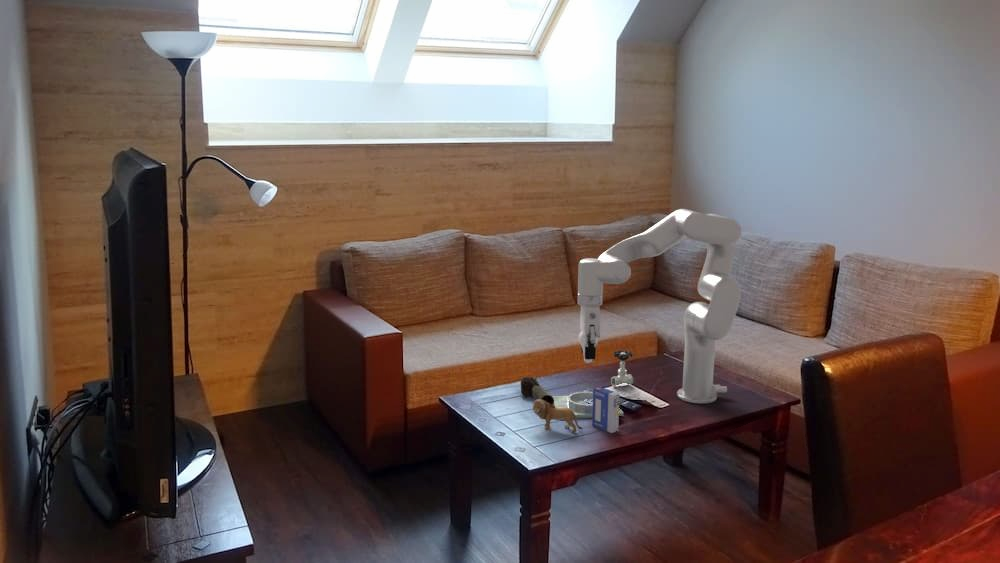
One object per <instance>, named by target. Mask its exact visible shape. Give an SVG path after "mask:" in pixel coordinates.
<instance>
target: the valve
mask: <svg viewBox="0 0 1000 563" xmlns="http://www.w3.org/2000/svg"><path fill="white" fill-rule="evenodd" d="M612 352H613V355H614V356H613V357H616V358H617V359H618V360H619V361H620V362H619V367H620V368H618V370H617V374H618V375H617V376H616V375H614V376H612V377H611V378H610V384H611V386H612V387H613V386H616V385H619V384H622V383H627V384H630V385H632V384H634V378H633V376H632V374H630V373H629V374H627V373H628V372H627V371H628V370H627V369H626V362H625V361H626V360H629V358H633V357H634V355H633V354H634V353H633V352H632V351H630V350H629V351H627V350H626V349H623V350H621V349H617V350H614V351H612Z"/></svg>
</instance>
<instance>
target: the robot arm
mask: <svg viewBox="0 0 1000 563" xmlns="http://www.w3.org/2000/svg"><path fill="white" fill-rule="evenodd" d="M741 235H742V227H741V225H740V224H739V222H738V221H737V220H735V219H733V218H731V217H727V216H724V215H721V214H716V213H706V214H705V213H702V212H697V211H694V210H692V209H691V210H690V209H687V208H679V209H676V210H674V211H673V212H671V213H669V214H668V215H667V216H665V217H664V218H662V219H661V220H659V221H658V222H657V223H655V224H654V225H652V226H651V227H649V228H648V229H647V230H645V231H644V232H641V233H638V234H635V235H633V236H631V237H628V238H626V239H623V240H621V241H620V242H617V243H616V244H614V245H613V246H611V247H609V248H608V249H607V250H606V251H604V252H602V254H600V255H599V256H598V257H597V258H593V257H592V258H591V257H589V258H581V260H580V261H579V262H578V273H577V276H578V277H577V278H578V280H577V304H578V306H580V311H579V312H580V313H579V314H580V316H579V327H580V332H581V331H582V332H583V335H584V337H586V346H585V359H592V360H595V359H596V350H597V349H596V346H597V345H596V344H595V335H596V336H597V337H598V338H599V339H600V337H601V308H600V306H602V305H603V297H604V295H603V292H604V290H603V289H604V284H613V285H614V284H615V285H619V284H623V283H625V282H627V281H628V280H629V279H630V277H631V275H632V269H631V267H630V265H629V263H631V262H633V261H635V260H638V259H643V258H652V257H657V256H660V255H661V254H663V253H665V252H666V251H667V250H669V249H670V248H672V247H673V246H675V245H676V244H678V243H679V242H682V240H684V239H687V240H691V241H694V242H698V243H703V244H705V245H706V257H705V260H704V264H703V267H702V270H701V273H700V276H699V279H698V282H697V292H698V294H699V296H701V297H702V298H703V299H706V300H707V301H709V303H707V302H703V301H695V302H692V303H691V304H688V306H687V307H686V308H685V311H684V313H683V327H684V353H683V355H684V356H683V370H682V371H683V373H682V387H681V388H679V389H678V390H677V392H676V396H677V397H678V398H679V400H681V401H684V402H688V403H691V404H692V403H693V404H699V405H700V404H701V405H702V404H710V403H713V402H716V401H717V399H718V395H717V394H718V393H727V392H728V387H727V386H726V385H725V386H722V385H721V384H715V383H714V371H715V354H716V341H719V340H723V339H724V338H725V337H726V336H727V335H729V332H730V331H731V328H732V326H733V324H734V322H735V321H734V320H735V318H736V315H737V312H738V308H739V306H740V305H739V304H740V303H741V298H742V288H741V285H740V283H739V281H738V280H737V279H736V278H734V277H733V276H731V272H732V269H733V266H734V260H735V256H736V251H735V245H734V244H736V243H737V242H738V241H739V240H740V238H741ZM588 335H590V337H588ZM588 339H590V340H589V341H588ZM580 352H581V354H583V349H582V347H581V351H580Z"/></svg>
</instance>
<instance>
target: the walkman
mask: <svg viewBox="0 0 1000 563" xmlns="http://www.w3.org/2000/svg"><path fill="white" fill-rule="evenodd" d="M592 392H593V415H592V418H591V419H592V420H591V425H592V426H593V427H596V428H598V429H600V430H603V431H605V432H607V433H610V434H613V433H617V432H619V424H620V423H619V421H620V420H619V419H620V417H619V407H620V393H618V392H616V391H613V390H610V389H608V388H604V387H601V386H597V387H595V388H593V390H592ZM616 431H617V432H616Z"/></svg>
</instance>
